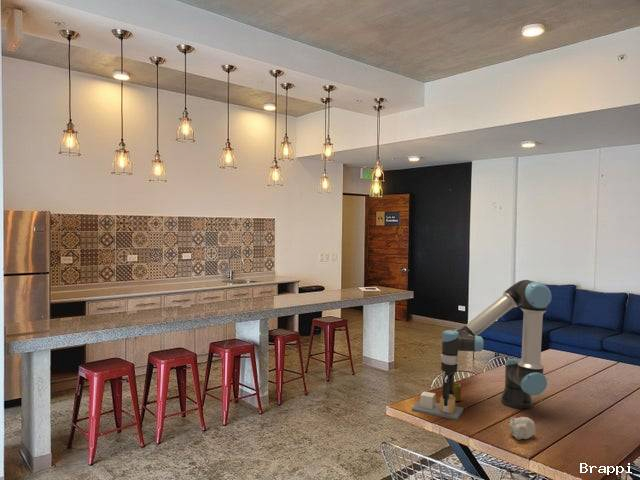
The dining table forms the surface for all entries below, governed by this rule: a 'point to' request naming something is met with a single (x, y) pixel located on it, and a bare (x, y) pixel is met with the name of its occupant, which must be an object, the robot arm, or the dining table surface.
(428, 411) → the board
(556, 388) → the dining table surface
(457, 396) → the mug
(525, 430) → the white lumpy piece
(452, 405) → the light orange cube
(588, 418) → the dining table surface
